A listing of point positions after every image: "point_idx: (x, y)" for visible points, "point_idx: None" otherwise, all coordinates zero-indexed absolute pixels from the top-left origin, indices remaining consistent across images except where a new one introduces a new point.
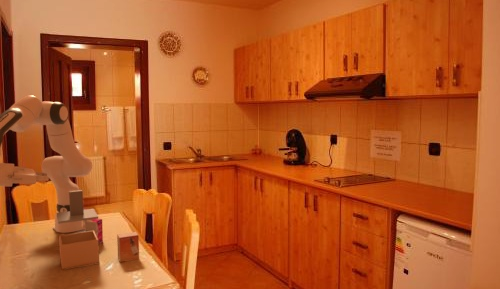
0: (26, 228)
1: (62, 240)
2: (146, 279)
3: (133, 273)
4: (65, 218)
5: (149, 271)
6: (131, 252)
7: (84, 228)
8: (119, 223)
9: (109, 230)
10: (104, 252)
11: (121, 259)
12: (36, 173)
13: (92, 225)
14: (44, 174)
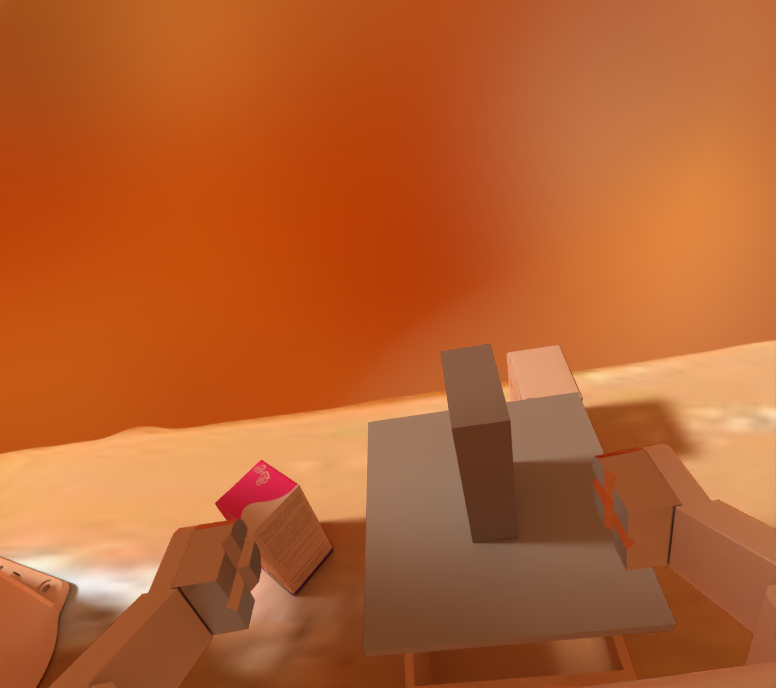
0: None
1: (419, 684)
2: (769, 397)
3: (706, 429)
4: (578, 570)
5: (691, 388)
6: None
7: (62, 596)
8: (113, 460)
9: (168, 496)
10: None
11: None
12: None
13: (292, 510)
14: (228, 560)
